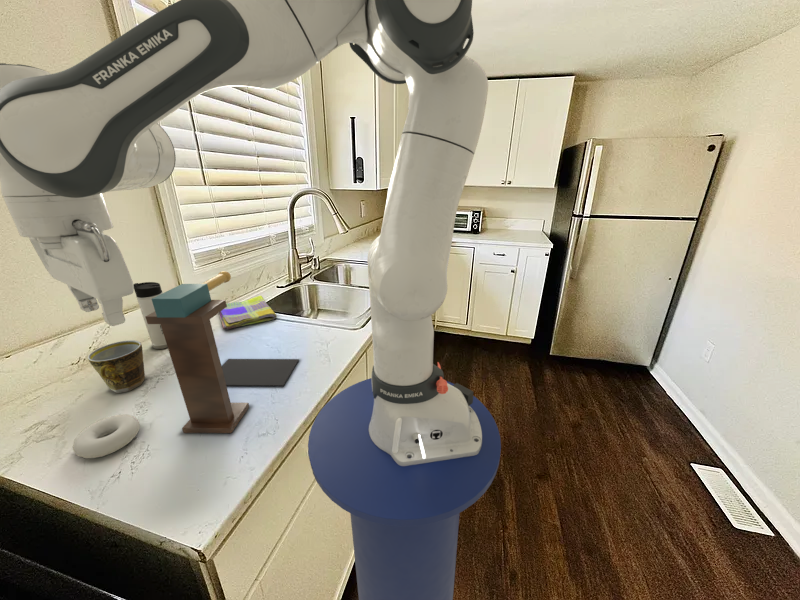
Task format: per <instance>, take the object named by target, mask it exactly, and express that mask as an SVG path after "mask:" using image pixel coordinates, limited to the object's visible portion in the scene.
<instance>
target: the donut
mask: <svg viewBox="0 0 800 600" xmlns="http://www.w3.org/2000/svg"><path fill="white" fill-rule="evenodd" d="M140 425H141V423H140V421H139V419H137V417H136V416H134V415H131V414H121V413H120V414H115V415H110V416H107V417H104V418H101V419H99V420H96V421H95V422H93V423H91V424H90V425H88V426H86V427H85V428H84V429H83V430H82V431H80V432H79V434H78V435H77V436H76V437H75V438H74V440H73V443H72V450H73V452H74V454H75V456H77V457H80V458H83V459H97V458H101V457H106V456H108V455H110V454H113V453H115V452H117V451H119V450H121V449H122V448H125V446H127V445H128V444H129V443H131V441H133V439H134V438H135V437H136V436H137V434H138V433H139V431H140Z"/></svg>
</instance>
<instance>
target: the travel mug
mask: <svg viewBox="0 0 800 600" xmlns="http://www.w3.org/2000/svg"><path fill="white" fill-rule="evenodd" d="M133 285H134V294H135V296H136V297H135V298H136V300H137V303H138V306H139V309H140V312H141V316H142V318H143V321H144V324H145V327H146V330H147V334H148V337H149V339H150V342H151V345H152V348H153V349H154V350H155V349H156V350H162V349H163V350H164V349H168V347H167V343H166V340H165V337H164V334H163V331H162V327H161V324H148V323H147V320H146V317H145V316H147V315H149V314H151V313H153V312H155V309H154V306H153V303H152V298H154V297H156V296H158V295H160V294H162V293H164V291H163V290H162V287H161V284H160V283H159V282H155V281H145V282H136V283H133Z"/></svg>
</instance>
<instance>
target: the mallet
mask: <svg viewBox="0 0 800 600" xmlns="http://www.w3.org/2000/svg"><path fill="white" fill-rule="evenodd" d="M231 278H232V275H231V274H230V273H229V271H227V270H222V271H219V272H218V274H217V275H215V276H213V277H211V278H210V279H207V280H205V281H204V282H202V283H181V284H178V285H177V286H175V287H173V288H171V289H168V290H167V291H165V292H164V291H163V293H162V294H160V295H158V296H156V297H154V298H152V303H153V306H154V309H155V312H156V315H157V317H158V318H167V317H187V316H188V315H190V314H191V313H193V312H194V311H196V310H198V309H199V308H201V307H202V306H204V305H205V304H207V303H208V302H210V301H211V300H212V298H211V297H212V296H211V293H210V292H211V291H212V290H214V289H215V288H218V287H219V286H221V285H222V284H225V283H228V282H230V280H231Z"/></svg>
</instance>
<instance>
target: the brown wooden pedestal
mask: <svg viewBox="0 0 800 600" xmlns="http://www.w3.org/2000/svg"><path fill="white" fill-rule="evenodd" d="M226 304H227V301H226V299H211V301H210V302H208V303H207V304H205V305H204V306H202V307H201V308H199V309H198V310H196V311H194V312H193V313H191V314H190V315H188V316H187V317H167V318H158V317H157V315H156V312H153V313H151V314H149V315H147V316H145V317H146V320H147V323H148V324H161V327H162V331H163V334H164V337H165V340H166V343H167V347H168V348H167V350H168V354H169V356H170V359H171V362H172V365H173V369H174V373H175V375H176V379H177V381H178V385H179V388H180V391H181V394H182V397H183V400H184V404H185V407H186V410H187V414H188V417H189V419H188V421H187V422H186V423H185V424H184V425H183V426H182V428H181V430H182V432H183V434H232V433H233V432H234V431H235V429H236V427H237V426H238V425H239V423H240V422H241V420H242V418H243V417H244V416H245V414H246V413H247V411H248V410H249V408H250V404H249V403H250V402H231V399H230V395H229V391H228V386H226V382H225V378H224V374H223V370H222V362H221V359H220V354H219V351H218V350H219V349H218V347H217V343H216V339H215V334H214V331H213V326H212V321H211V319H212V318H214V317H215V316H217V315H218V314H220V311H222V310H223V309H224V308H226V307H227V305H226Z"/></svg>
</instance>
